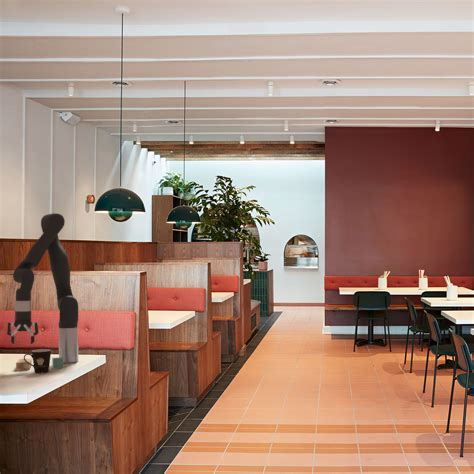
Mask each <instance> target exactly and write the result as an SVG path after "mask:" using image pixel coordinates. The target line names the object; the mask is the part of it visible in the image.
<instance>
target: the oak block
mask: <svg viewBox="0 0 474 474" xmlns="http://www.w3.org/2000/svg"><path fill="white" fill-rule="evenodd" d="M25 360H26V361H27V362H29V363H30V364H32V362H33V358H25ZM25 360H24V358H19V359H17V360H16V363H15V371H30V370H31V367H32V366H31V365H30V364H28V363H27V362H26V361H25ZM32 365H33V364H32Z"/></svg>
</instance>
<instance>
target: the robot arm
mask: <svg viewBox="0 0 474 474" xmlns="http://www.w3.org/2000/svg"><path fill="white" fill-rule="evenodd" d="M65 223H66V222H65V217H64V216H63V214H61V213H60V212H59V213H58V212H52V213H48V214H44V215H43V216H42V218H41V220H40V226H41V231H42V234H41V236H39V238H38V239H37V240H36V241H35V242H34V243H33V244H32V246H30V247H31V248H30V249H29V250H28V252H27V254H26V256H25V257H24V259H23V260H22V261H21V262H20V263H19V264H18V265H17V267H16V268H15V269H14V271H13V273H12V279H13V281H14V282H15V283H17V284H20V287H19V288H17V289H16V290H15V302H14V303H15V304H14V322H11V321H9V322H8V323H7V331H6V335H8V336H10V337H11V339H10V342H11V344H12V345H15V344H16V336H15V335H16V334H17V333H18V332H28V333H29V334H30V344H31V345H33V344H34V343H35V339H36V338H35V337H36V336H37V335H39V331H40V330H39V322H38V321H36V322H32V291H33V285H34V283H35V273H34V271H33V269H35V268H37V267H38V266H39V264H40V262H41V260H42V259H43V257H44V256H45V253H46V251H47V255H48V260H49V265H50V271H51V274H52V279H53V282H54V284H55V291H56V300H57V301H56V303H57V304H56V305H57V308H58V310H59V320H58V321H59V322H58V358H59V357H62V358H63V364H69V363H70V364H71V363H78V361H79V340H78V339H79V338H78V325H79V324H78V322H79V302H78V300H77V299H76V298H75V297H74V295H73V294H74V293H73V290H72V287H71V267H70V261H69V256H68V253H67V251H66V250H65V249H64V247H63V245H62V243H61V241H60V239H59V233H60V232H61V231H62V230H63V228H64V227H65ZM13 326H14V327H15V328H14V330H13V332H12V327H13ZM32 326H33V328H34V331H33V329H32V328H31V327H32Z"/></svg>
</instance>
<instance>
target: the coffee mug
mask: <svg viewBox="0 0 474 474" xmlns="http://www.w3.org/2000/svg"><path fill="white" fill-rule="evenodd" d="M51 354H52V350H51V349H50V348H48V349H47V348H42V349H41V348H40V349H33V350H31V353H25V354H24V356H23V359H24V360H25V359H26V356H30V357H31V359H32V362H33V364H30V363H29V362H27V361H26V360H25V361H26V362H27V363H28V364H30V365H31V367H33V370H34V374H48V373H49V372H50V364H51V356H52V355H51Z"/></svg>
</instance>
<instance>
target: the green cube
mask: <svg viewBox="0 0 474 474" xmlns="http://www.w3.org/2000/svg"><path fill="white" fill-rule="evenodd" d="M51 366H52V369H63V368H64V363H63V358H62V357H59V356H58V357H52V365H51Z"/></svg>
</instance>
